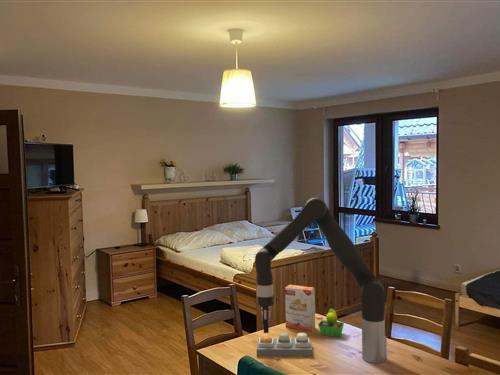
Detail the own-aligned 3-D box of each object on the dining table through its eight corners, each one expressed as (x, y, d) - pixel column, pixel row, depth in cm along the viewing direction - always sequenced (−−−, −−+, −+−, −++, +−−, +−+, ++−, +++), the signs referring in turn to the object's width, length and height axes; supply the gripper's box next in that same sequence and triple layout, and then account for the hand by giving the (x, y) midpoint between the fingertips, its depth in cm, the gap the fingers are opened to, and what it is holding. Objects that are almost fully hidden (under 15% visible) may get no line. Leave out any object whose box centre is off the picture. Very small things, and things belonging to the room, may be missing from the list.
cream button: (306, 337, 198) (306, 332, 198) (307, 341, 194) (307, 336, 194) (296, 337, 199) (296, 332, 198) (297, 341, 194) (297, 336, 194)
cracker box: (285, 327, 225) (284, 287, 224) (289, 323, 230) (289, 284, 229) (311, 331, 218) (310, 290, 217) (315, 327, 223) (315, 286, 222)
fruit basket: (317, 335, 213) (317, 312, 213) (322, 329, 222) (321, 306, 221) (341, 338, 209) (341, 315, 208) (345, 332, 217) (344, 309, 217)
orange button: (271, 340, 199) (271, 336, 199) (271, 344, 195) (270, 339, 195) (261, 340, 200) (261, 336, 199) (261, 344, 195) (260, 339, 195)
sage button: (288, 337, 199) (288, 332, 199) (289, 340, 194) (289, 336, 194) (279, 337, 199) (279, 332, 199) (279, 340, 195) (279, 336, 195)
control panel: (310, 345, 202) (310, 335, 202) (312, 356, 190) (312, 346, 190) (257, 344, 204) (257, 335, 203) (256, 356, 192) (256, 345, 191)
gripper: (273, 298, 189) (274, 338, 190) (273, 289, 203) (274, 326, 203) (256, 298, 190) (257, 338, 191) (257, 289, 203) (258, 327, 204)
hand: (266, 332), depth 197 cm, fingers closed
